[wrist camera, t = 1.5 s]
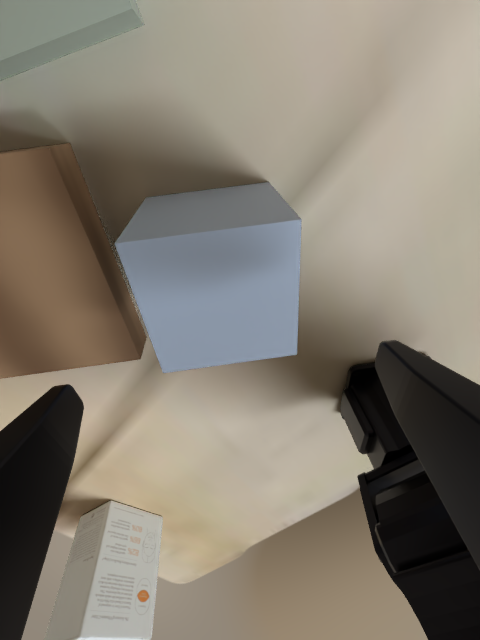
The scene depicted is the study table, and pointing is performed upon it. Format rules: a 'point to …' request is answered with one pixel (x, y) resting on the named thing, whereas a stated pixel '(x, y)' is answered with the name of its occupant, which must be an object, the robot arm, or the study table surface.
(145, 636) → the small box
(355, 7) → the study table surface
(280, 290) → the blue cube
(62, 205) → the walnut slab
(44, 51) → the grey-green slab
